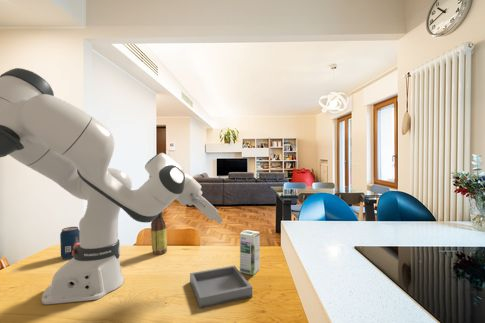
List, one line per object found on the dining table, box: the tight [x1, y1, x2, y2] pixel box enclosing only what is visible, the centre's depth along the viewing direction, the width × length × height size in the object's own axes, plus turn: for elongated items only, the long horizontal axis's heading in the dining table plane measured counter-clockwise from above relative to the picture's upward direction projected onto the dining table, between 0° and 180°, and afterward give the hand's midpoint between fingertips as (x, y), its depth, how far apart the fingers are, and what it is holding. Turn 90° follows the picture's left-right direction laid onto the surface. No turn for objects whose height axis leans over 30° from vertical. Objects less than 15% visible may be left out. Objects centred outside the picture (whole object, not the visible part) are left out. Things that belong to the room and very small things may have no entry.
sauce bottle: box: [150, 211, 168, 255], centre depth 113 cm, size 7×6×20 cm
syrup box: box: [239, 229, 261, 276], centre depth 95 cm, size 6×6×14 cm
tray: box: [189, 265, 253, 309], centre depth 83 cm, size 16×16×3 cm
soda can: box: [59, 226, 80, 260], centre depth 109 cm, size 7×7×12 cm
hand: (217, 218), depth 90 cm, fingers open, 8 cm apart
